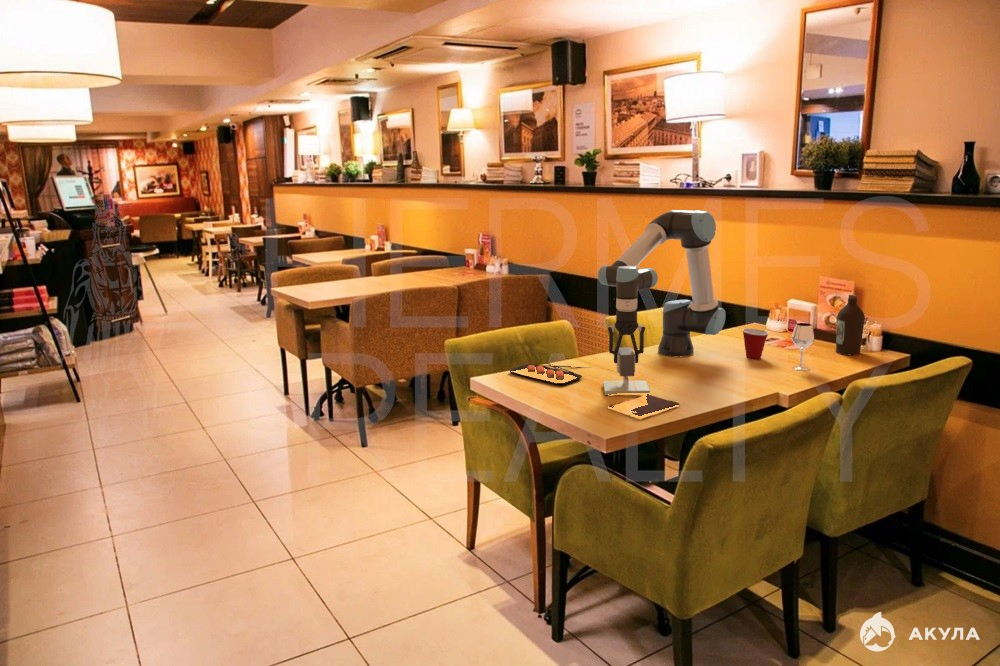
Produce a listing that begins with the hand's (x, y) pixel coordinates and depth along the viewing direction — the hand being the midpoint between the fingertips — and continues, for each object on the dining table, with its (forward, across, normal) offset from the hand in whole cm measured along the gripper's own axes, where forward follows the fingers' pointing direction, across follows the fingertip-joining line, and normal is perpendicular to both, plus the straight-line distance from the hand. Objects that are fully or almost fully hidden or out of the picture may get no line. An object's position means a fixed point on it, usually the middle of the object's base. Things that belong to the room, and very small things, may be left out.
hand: (625, 371), depth 263 cm
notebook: (+8, +4, -18) cm, 21 cm away
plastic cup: (+7, +58, +43) cm, 73 cm away
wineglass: (+7, +72, +27) cm, 77 cm away
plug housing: (0, 0, 0) cm, 0 cm away
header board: (+8, 0, 0) cm, 8 cm away
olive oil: (+7, +99, +50) cm, 111 cm away
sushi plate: (+8, -25, +25) cm, 36 cm away
